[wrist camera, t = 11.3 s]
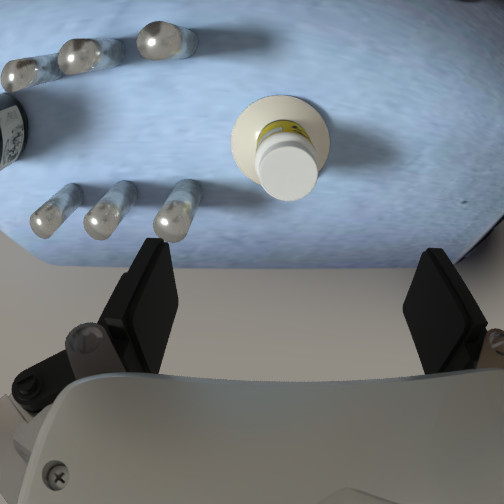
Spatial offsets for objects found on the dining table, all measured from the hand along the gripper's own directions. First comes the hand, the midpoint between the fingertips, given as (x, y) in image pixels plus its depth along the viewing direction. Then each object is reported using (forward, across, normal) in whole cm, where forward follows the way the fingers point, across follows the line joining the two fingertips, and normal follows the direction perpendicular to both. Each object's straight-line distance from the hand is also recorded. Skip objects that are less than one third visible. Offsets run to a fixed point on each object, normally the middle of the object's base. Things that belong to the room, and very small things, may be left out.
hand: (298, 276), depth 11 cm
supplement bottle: (+20, 0, +1) cm, 20 cm away
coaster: (+20, 0, +1) cm, 21 cm away
